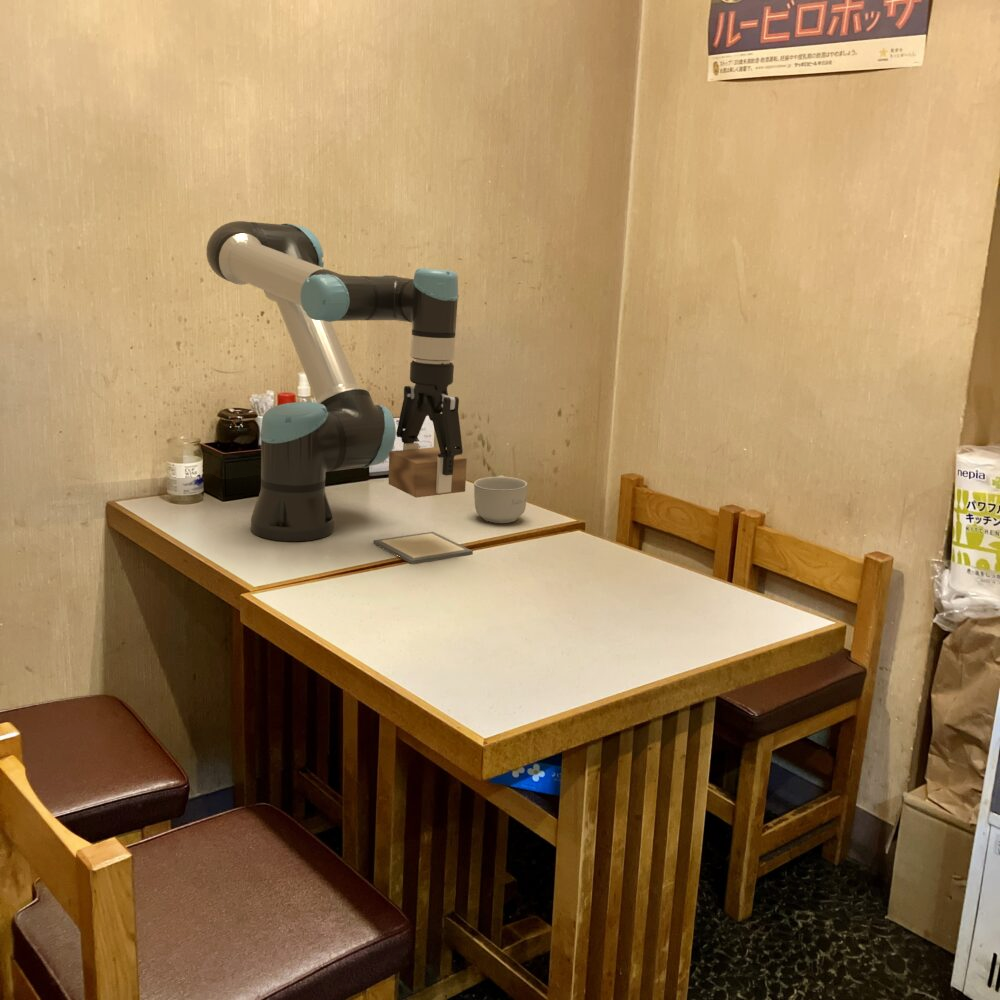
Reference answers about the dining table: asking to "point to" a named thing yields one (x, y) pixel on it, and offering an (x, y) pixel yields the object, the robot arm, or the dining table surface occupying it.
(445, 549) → the mat
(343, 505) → the dining table surface
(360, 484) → the dining table surface
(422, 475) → the brown wooden block
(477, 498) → the teacup
